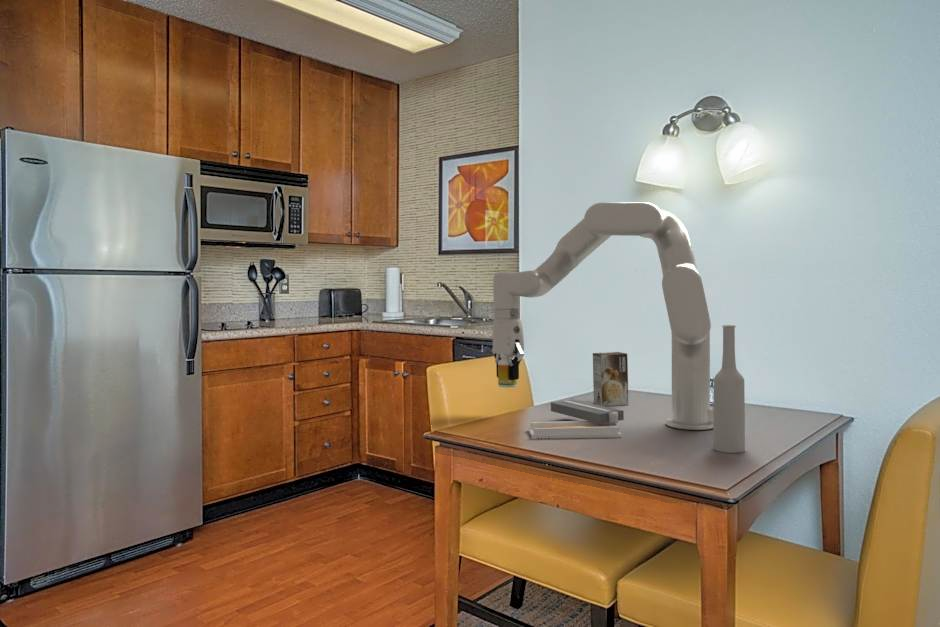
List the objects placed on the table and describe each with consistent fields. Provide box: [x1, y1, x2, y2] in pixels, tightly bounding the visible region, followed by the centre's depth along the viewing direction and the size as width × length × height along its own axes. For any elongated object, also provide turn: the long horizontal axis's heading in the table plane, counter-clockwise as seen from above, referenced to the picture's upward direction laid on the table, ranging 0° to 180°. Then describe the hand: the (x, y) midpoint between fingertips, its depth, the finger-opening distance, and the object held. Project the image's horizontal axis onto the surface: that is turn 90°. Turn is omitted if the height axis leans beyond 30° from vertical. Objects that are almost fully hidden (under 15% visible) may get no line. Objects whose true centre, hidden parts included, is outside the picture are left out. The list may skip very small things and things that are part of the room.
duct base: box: [527, 420, 623, 440], centre depth 164 cm, size 22×9×2 cm, turn 90°
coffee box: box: [592, 351, 629, 407], centre depth 203 cm, size 9×6×16 cm
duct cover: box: [550, 399, 625, 424], centre depth 173 cm, size 22×8×3 cm, turn 30°
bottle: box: [712, 324, 746, 454], centre depth 146 cm, size 7×7×28 cm
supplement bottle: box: [497, 353, 518, 389], centre depth 187 cm, size 5×5×10 cm
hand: (507, 377), depth 187 cm, fingers closed on supplement bottle, 5 cm apart
